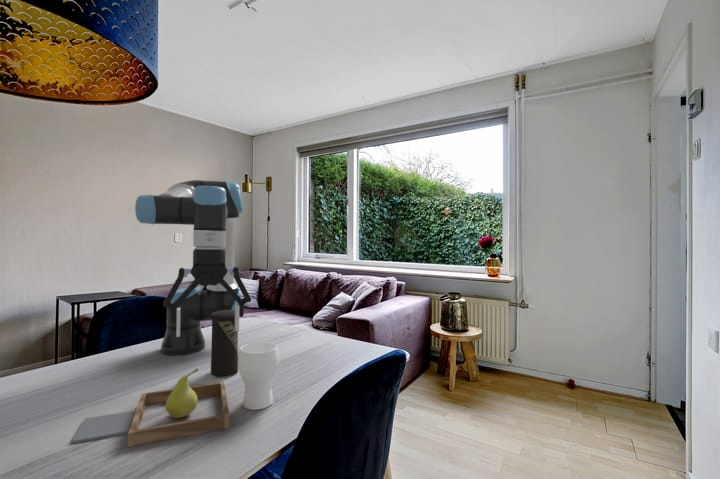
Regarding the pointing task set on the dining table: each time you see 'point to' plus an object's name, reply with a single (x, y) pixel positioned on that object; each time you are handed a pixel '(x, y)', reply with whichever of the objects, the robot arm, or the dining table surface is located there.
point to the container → (224, 344)
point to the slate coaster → (104, 426)
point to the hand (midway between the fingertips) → (208, 332)
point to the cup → (258, 373)
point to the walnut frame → (179, 428)
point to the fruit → (182, 398)
